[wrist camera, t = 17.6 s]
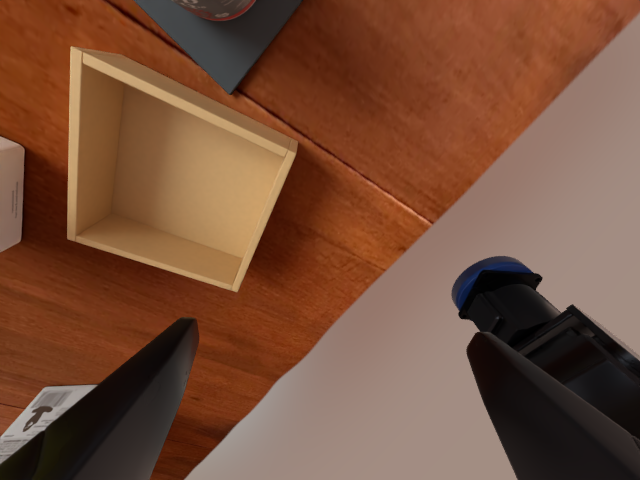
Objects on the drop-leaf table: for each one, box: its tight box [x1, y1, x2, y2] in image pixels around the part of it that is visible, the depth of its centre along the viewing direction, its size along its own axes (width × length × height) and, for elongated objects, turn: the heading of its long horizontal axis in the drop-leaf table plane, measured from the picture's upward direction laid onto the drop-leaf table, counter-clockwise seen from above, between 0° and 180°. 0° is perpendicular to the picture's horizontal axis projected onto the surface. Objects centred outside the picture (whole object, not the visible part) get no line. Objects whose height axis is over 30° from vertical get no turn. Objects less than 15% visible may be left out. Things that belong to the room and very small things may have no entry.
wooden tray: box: [67, 46, 298, 292], centre depth 17 cm, size 11×11×4 cm
